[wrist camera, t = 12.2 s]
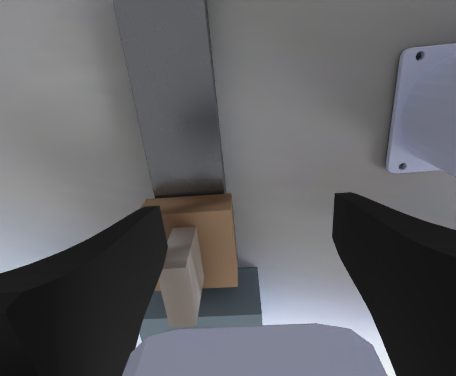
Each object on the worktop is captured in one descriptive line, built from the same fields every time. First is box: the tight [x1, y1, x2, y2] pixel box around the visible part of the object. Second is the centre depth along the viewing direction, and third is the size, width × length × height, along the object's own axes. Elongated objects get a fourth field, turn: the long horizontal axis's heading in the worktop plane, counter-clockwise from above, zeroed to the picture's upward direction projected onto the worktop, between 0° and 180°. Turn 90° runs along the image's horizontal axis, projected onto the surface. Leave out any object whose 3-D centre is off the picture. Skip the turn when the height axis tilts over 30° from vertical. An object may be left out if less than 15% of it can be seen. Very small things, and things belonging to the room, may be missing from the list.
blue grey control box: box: [139, 267, 262, 342], centre depth 23 cm, size 9×6×5 cm, turn 95°
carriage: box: [140, 193, 238, 327], centre depth 18 cm, size 6×6×6 cm
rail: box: [113, 0, 226, 199], centre depth 19 cm, size 5×20×2 cm, turn 5°
